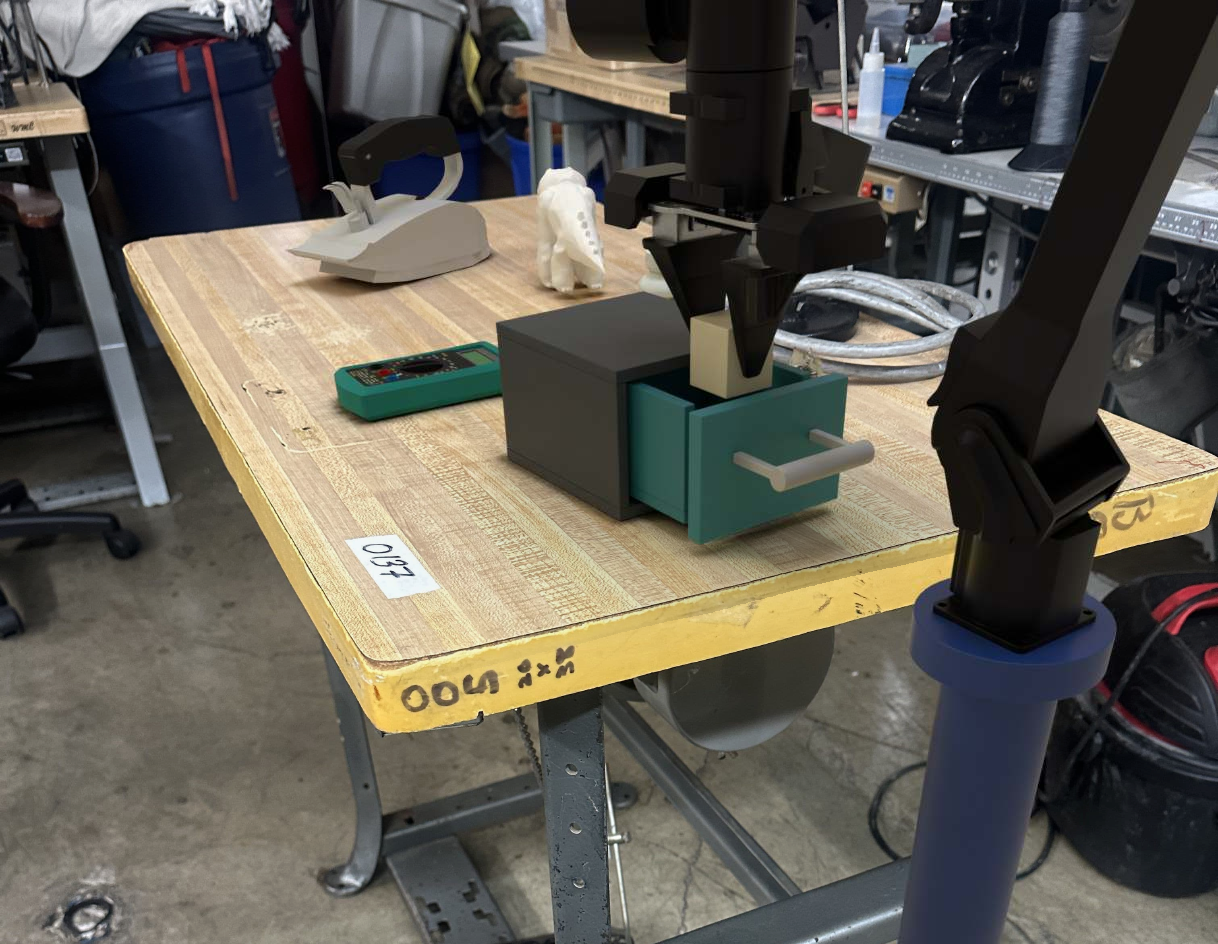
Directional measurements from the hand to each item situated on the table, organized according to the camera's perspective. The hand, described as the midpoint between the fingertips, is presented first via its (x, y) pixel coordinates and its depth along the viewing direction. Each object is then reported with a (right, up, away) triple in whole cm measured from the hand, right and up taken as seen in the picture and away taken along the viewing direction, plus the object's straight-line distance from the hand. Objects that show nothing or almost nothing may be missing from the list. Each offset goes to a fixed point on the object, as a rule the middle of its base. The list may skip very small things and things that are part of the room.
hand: (731, 369), depth 71 cm
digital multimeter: (-22, +8, +27) cm, 36 cm away
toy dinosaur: (-11, +28, +52) cm, 60 cm away
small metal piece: (+8, +8, +26) cm, 28 cm away
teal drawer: (0, -7, +5) cm, 8 cm away
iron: (-31, +36, +64) cm, 80 cm away
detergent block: (0, -1, +1) cm, 1 cm away
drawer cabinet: (-6, -2, +13) cm, 14 cm away
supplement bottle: (-2, +12, +31) cm, 33 cm away
